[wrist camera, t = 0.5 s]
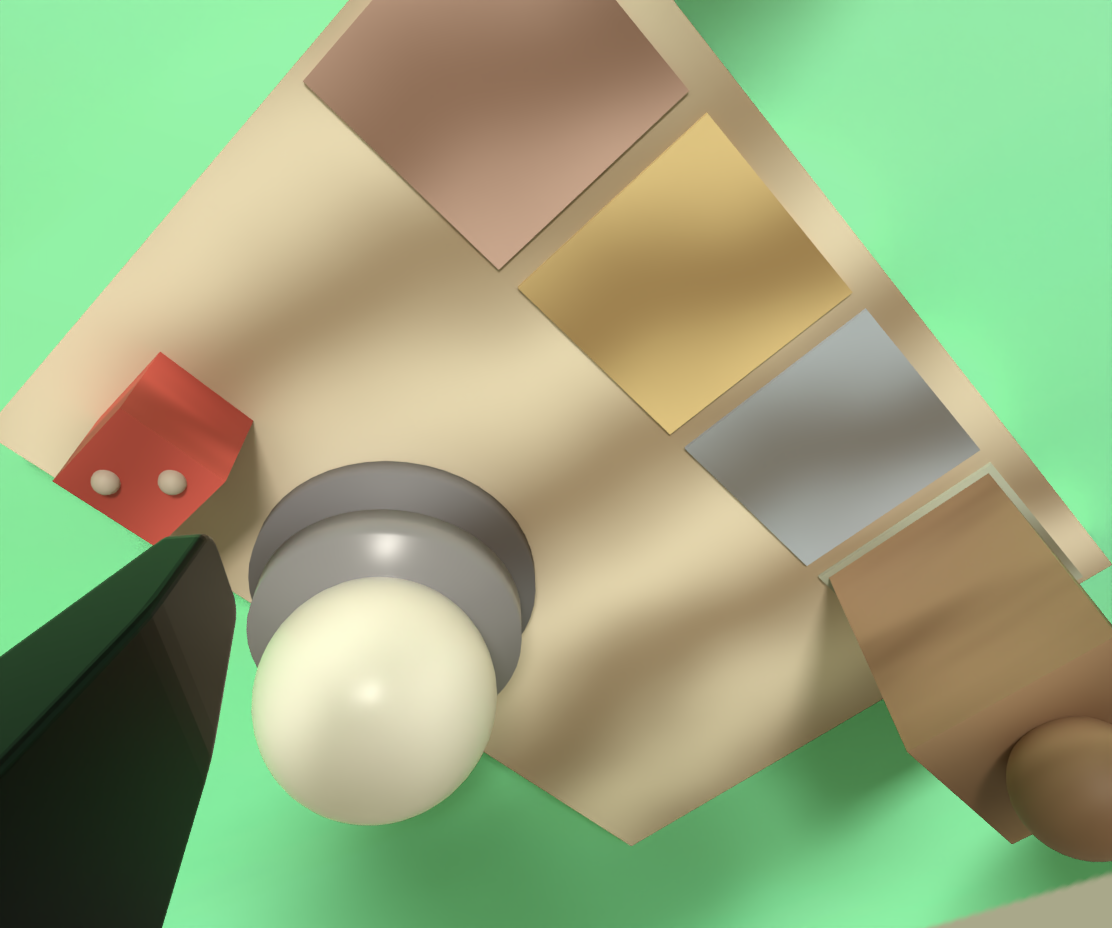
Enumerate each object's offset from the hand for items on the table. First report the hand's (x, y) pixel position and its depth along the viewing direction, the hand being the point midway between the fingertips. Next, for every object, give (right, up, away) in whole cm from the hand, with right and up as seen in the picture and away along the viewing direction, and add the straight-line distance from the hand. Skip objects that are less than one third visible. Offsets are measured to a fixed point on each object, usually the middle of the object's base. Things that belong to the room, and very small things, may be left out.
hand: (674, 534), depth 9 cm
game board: (0, +1, +16) cm, 16 cm away
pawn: (+10, -2, +17) cm, 20 cm away
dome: (-5, -3, +15) cm, 16 cm away
